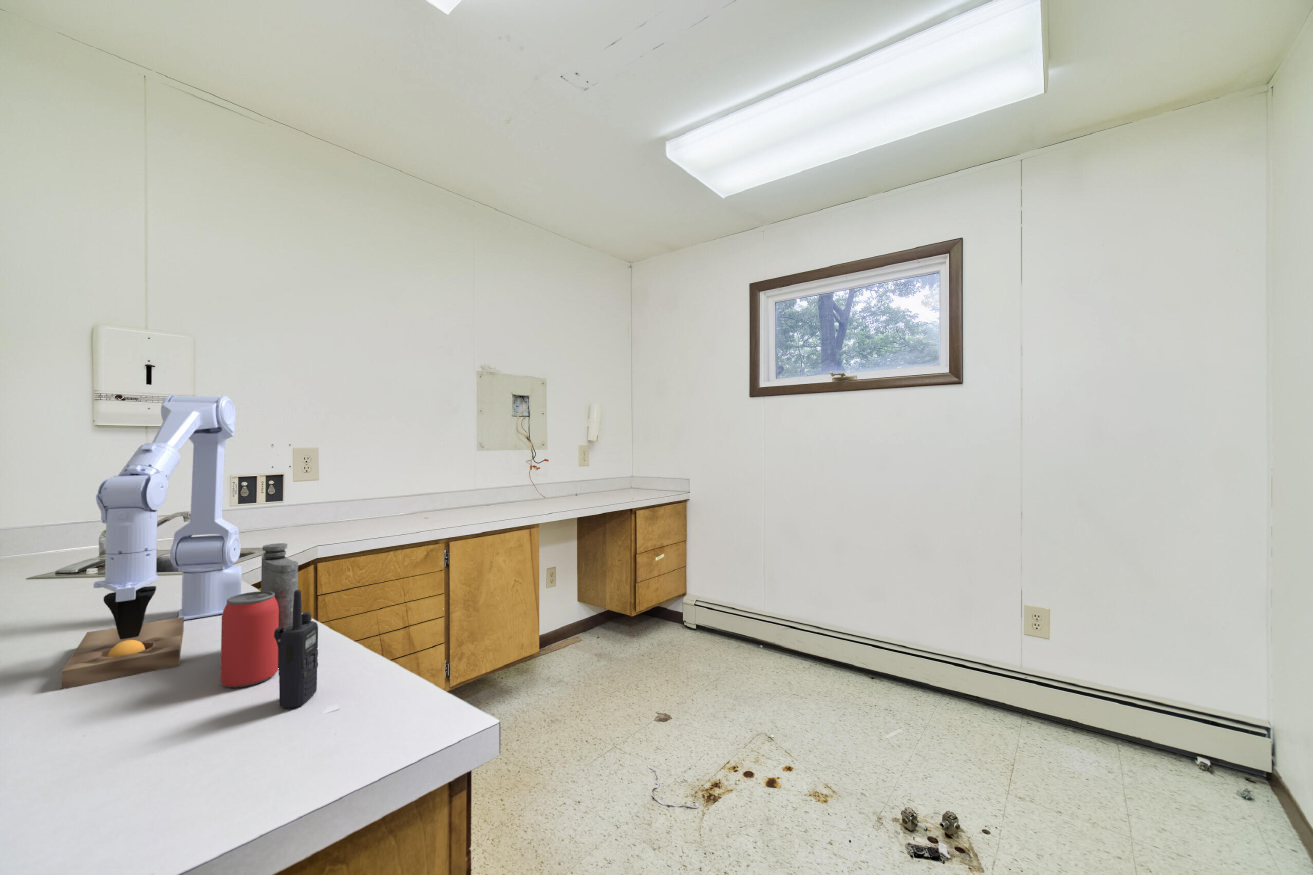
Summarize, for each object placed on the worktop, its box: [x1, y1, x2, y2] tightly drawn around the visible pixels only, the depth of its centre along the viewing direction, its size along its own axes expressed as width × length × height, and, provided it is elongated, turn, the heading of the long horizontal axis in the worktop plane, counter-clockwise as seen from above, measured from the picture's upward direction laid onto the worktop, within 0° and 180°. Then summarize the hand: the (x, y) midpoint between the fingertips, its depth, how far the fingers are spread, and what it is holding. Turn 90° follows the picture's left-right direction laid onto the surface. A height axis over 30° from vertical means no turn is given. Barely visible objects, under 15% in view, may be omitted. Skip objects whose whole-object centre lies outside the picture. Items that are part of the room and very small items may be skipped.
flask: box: [260, 542, 299, 668], centre depth 84 cm, size 4×14×18 cm, turn 45°
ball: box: [108, 640, 145, 657], centre depth 79 cm, size 4×4×4 cm
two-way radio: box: [274, 589, 319, 709], centre depth 69 cm, size 6×4×15 cm
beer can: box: [220, 590, 279, 689], centre depth 75 cm, size 7×7×12 cm
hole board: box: [60, 617, 185, 690], centre depth 83 cm, size 12×20×2 cm, turn 41°
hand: (129, 636), depth 82 cm, fingers closed
